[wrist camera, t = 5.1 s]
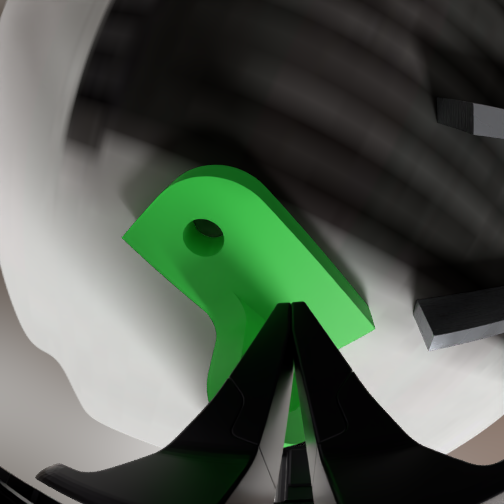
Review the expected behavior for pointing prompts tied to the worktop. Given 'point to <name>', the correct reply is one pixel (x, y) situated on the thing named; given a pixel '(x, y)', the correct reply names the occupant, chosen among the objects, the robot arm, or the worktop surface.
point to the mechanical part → (244, 267)
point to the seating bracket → (471, 303)
